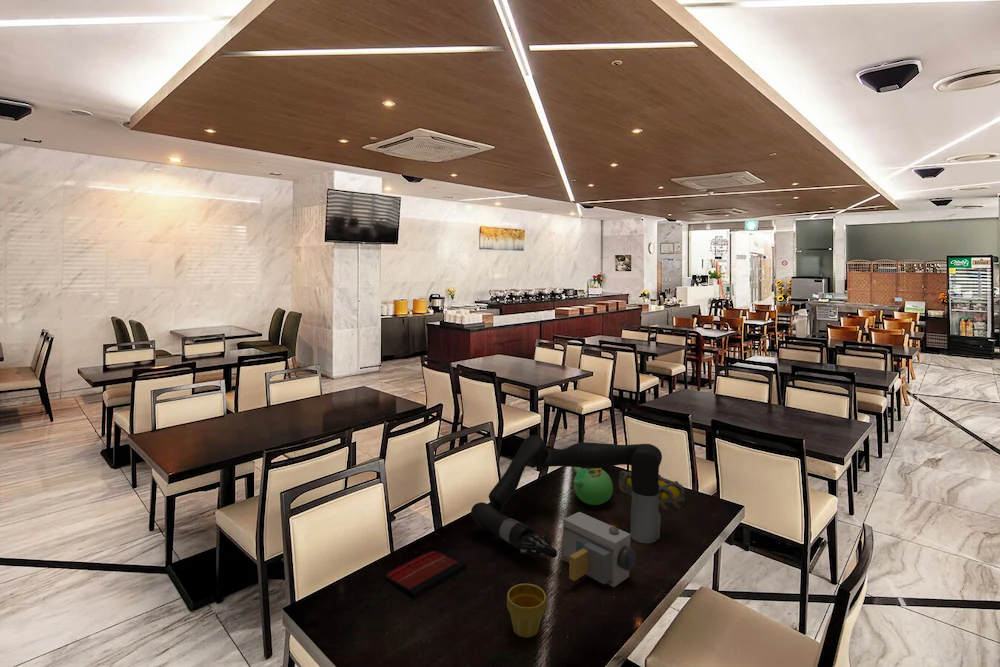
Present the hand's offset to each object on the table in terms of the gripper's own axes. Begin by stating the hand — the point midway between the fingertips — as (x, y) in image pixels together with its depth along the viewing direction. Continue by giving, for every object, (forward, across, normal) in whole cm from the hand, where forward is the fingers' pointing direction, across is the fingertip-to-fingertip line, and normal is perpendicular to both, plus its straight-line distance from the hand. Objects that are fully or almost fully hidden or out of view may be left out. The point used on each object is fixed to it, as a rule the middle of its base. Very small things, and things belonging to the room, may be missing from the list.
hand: (555, 554), depth 160 cm
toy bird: (-24, -50, -7) cm, 56 cm away
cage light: (-12, -74, -8) cm, 75 cm away
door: (+11, -3, -5) cm, 12 cm away
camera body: (+7, -12, -7) cm, 16 cm away
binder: (-28, +29, -8) cm, 41 cm away
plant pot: (+11, +24, -7) cm, 27 cm away
